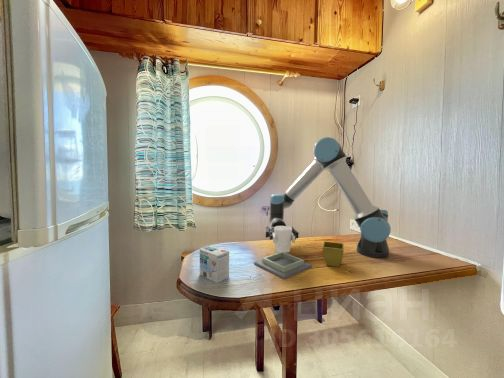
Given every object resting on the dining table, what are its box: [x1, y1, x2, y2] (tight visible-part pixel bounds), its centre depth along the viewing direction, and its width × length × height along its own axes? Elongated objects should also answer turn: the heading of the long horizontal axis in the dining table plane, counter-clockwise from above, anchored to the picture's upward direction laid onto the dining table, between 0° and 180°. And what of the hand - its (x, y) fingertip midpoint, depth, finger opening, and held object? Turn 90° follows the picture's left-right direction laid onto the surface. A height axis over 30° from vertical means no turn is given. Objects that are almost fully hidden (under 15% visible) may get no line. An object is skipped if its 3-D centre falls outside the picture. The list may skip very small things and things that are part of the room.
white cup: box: [274, 225, 292, 253], centre depth 100 cm, size 8×8×10 cm
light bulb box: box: [199, 244, 230, 284], centre depth 89 cm, size 11×7×11 cm, turn 51°
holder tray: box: [253, 252, 313, 280], centre depth 101 cm, size 18×18×3 cm
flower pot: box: [322, 240, 345, 268], centre depth 102 cm, size 9×9×9 cm
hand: (284, 240), depth 95 cm, fingers closed on white cup, 8 cm apart
